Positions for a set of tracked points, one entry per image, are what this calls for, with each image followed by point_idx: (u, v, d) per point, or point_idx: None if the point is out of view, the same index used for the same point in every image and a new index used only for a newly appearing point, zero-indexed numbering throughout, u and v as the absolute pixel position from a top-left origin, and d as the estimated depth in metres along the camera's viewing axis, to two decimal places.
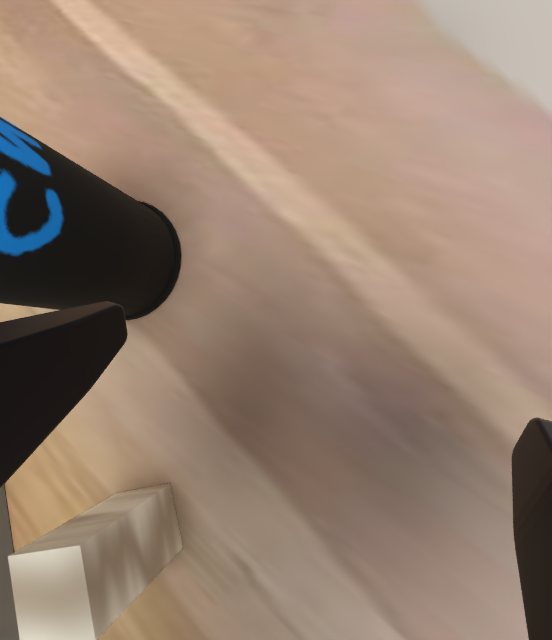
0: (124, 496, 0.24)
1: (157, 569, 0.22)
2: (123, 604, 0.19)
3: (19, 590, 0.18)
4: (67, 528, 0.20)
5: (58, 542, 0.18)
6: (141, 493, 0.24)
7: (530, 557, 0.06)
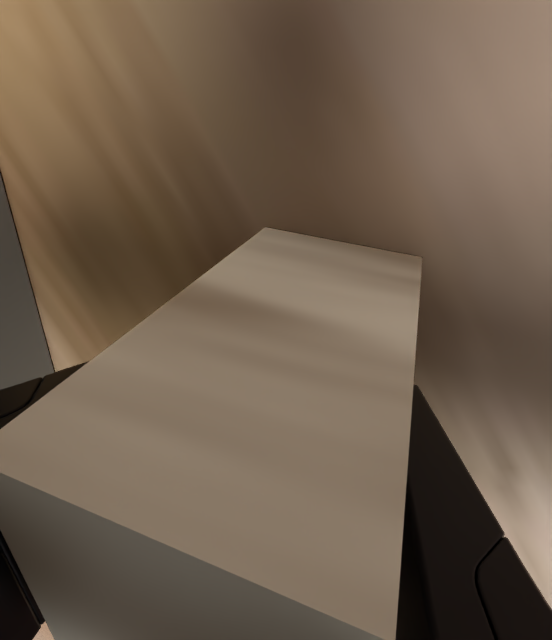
0: (306, 254, 0.09)
1: None
2: None
3: (34, 559, 0.04)
4: (196, 346, 0.05)
5: (207, 472, 0.04)
6: (361, 265, 0.09)
7: None
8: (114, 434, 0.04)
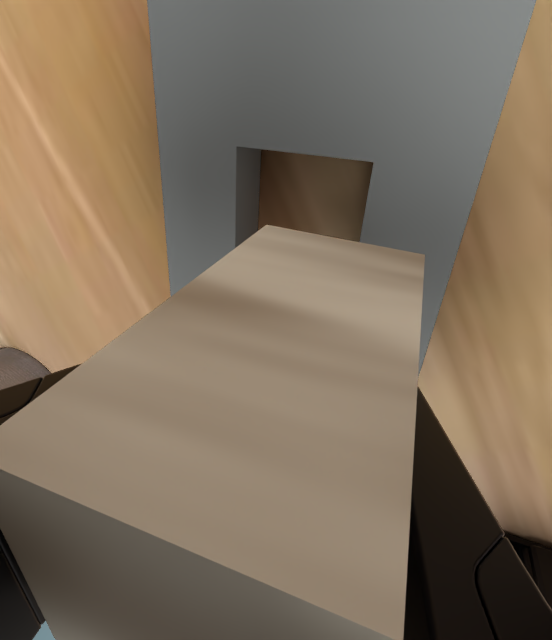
0: (308, 251, 0.09)
1: None
2: None
3: (34, 557, 0.04)
4: (198, 343, 0.05)
5: (210, 469, 0.04)
6: (363, 262, 0.08)
7: None
8: (115, 430, 0.04)
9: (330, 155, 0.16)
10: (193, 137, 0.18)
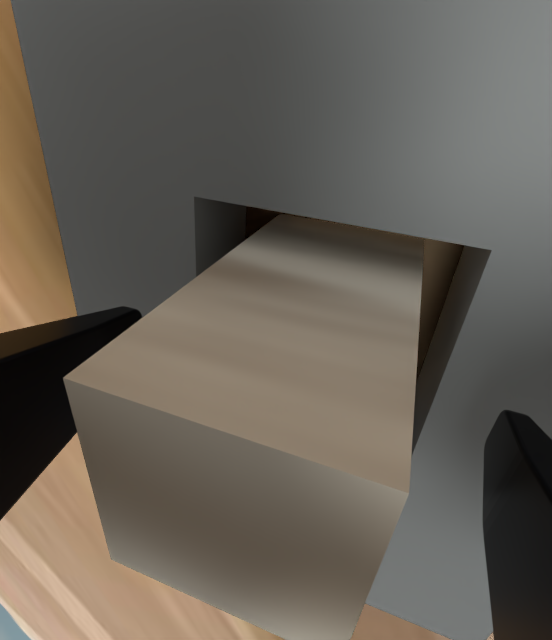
0: (320, 235, 0.10)
1: None
2: None
3: (109, 472, 0.05)
4: (233, 305, 0.06)
5: (255, 390, 0.05)
6: (369, 245, 0.09)
7: (495, 545, 0.06)
8: (177, 365, 0.05)
9: (392, 228, 0.07)
10: (110, 174, 0.09)
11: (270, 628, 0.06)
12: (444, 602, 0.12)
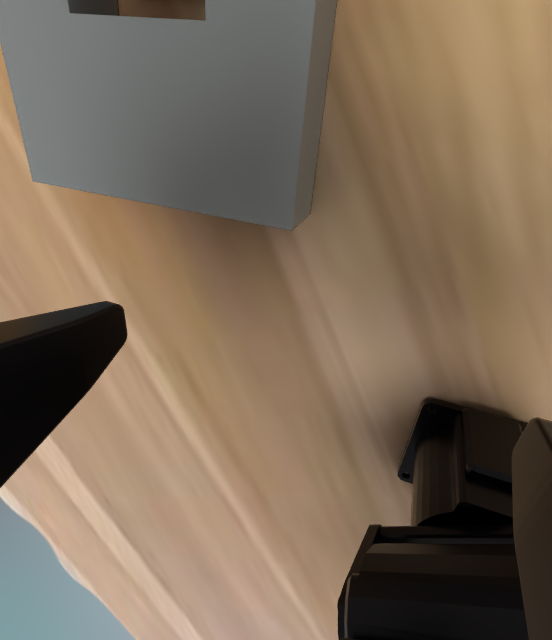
0: None
1: None
2: None
3: None
4: None
5: None
6: None
7: (530, 557, 0.06)
8: None
9: None
10: None
11: None
12: (260, 179, 0.16)
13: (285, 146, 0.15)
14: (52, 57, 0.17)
